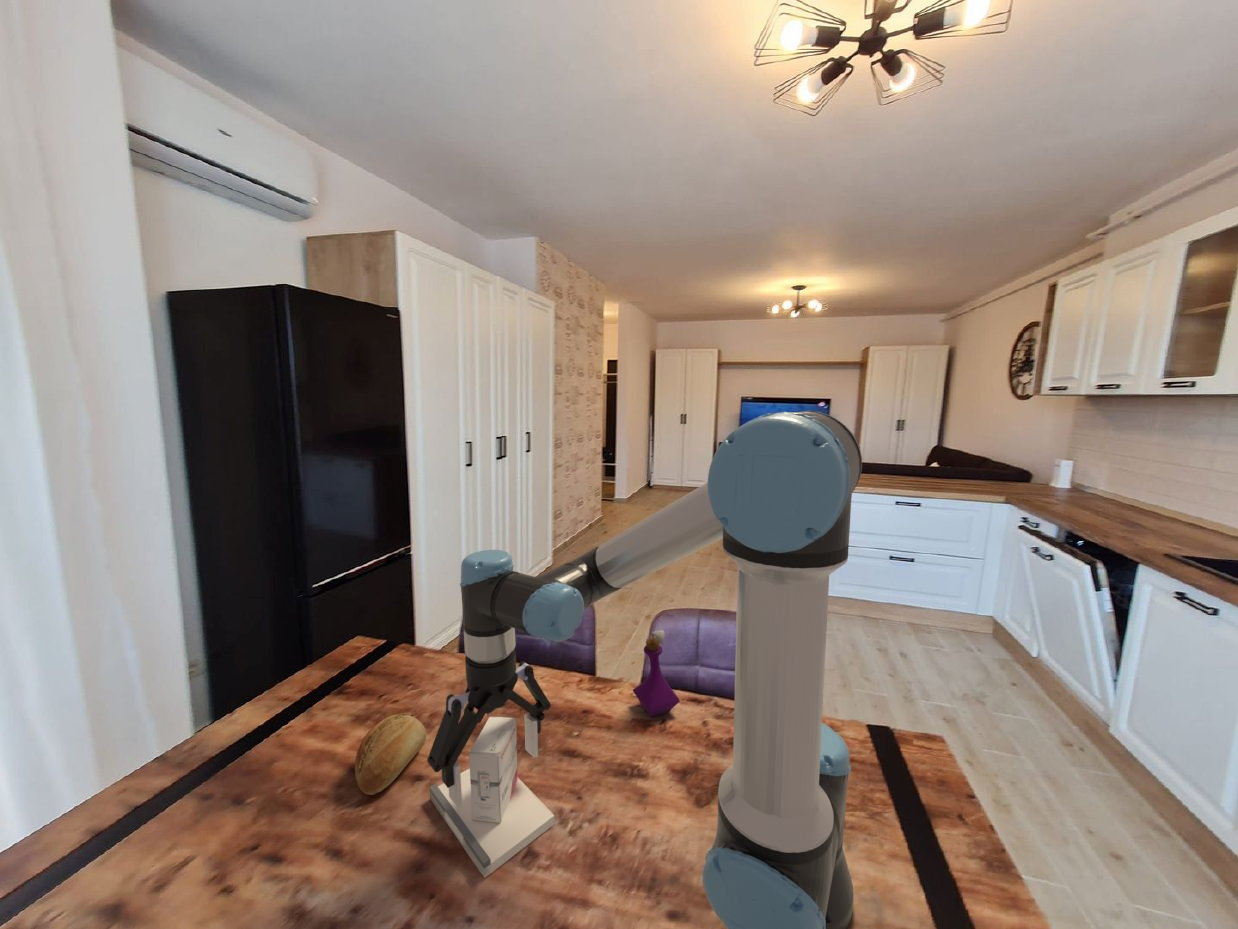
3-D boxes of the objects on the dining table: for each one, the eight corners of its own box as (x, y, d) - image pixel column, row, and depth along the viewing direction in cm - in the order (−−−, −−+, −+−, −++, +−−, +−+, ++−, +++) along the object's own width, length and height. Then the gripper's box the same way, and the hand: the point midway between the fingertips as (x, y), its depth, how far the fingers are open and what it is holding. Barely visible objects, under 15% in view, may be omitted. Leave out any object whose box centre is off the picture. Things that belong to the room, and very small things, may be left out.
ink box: (491, 776, 81) (489, 713, 79) (519, 779, 80) (517, 715, 79) (470, 821, 72) (467, 752, 71) (501, 824, 72) (499, 754, 70)
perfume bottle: (632, 703, 103) (632, 626, 100) (662, 694, 106) (663, 619, 103) (648, 725, 96) (649, 642, 93) (679, 715, 99) (681, 634, 96)
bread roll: (338, 799, 78) (334, 755, 77) (391, 735, 93) (388, 698, 92) (392, 805, 77) (389, 761, 76) (437, 739, 92) (435, 702, 91)
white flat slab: (554, 824, 74) (554, 811, 73) (483, 879, 65) (482, 864, 65) (495, 760, 86) (494, 749, 86) (429, 800, 78) (428, 787, 78)
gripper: (543, 617, 84) (546, 726, 87) (397, 674, 67) (407, 808, 69) (569, 631, 79) (571, 747, 81) (418, 698, 61) (428, 841, 64)
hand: (496, 775), depth 75 cm, fingers open, 13 cm apart
